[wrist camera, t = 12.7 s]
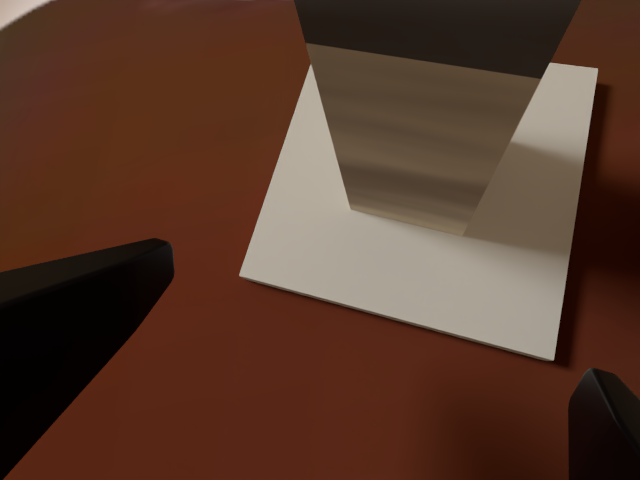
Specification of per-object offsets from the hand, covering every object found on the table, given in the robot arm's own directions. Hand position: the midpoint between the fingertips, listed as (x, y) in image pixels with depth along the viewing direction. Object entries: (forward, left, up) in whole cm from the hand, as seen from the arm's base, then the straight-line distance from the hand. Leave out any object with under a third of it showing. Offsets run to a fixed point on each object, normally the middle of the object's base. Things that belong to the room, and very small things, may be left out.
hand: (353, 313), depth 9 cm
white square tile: (+7, 0, -8) cm, 11 cm away
